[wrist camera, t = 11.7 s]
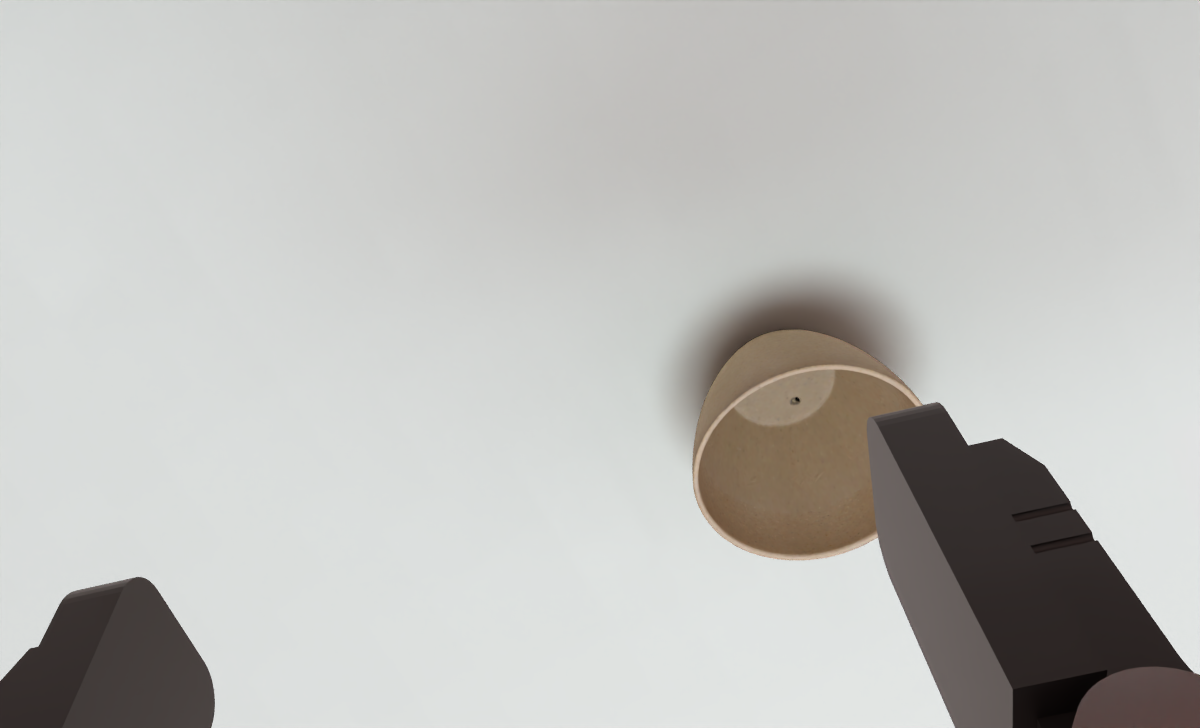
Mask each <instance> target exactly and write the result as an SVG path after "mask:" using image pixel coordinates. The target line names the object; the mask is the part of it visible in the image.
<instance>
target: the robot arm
mask: <svg viewBox="0 0 1200 728" xmlns="http://www.w3.org/2000/svg"><path fill="white" fill-rule="evenodd" d="M867 440H868V450H869V460H870V470H871V481H872V491H873V501H874V511H875V521H876V528H877V534H878V539H879V543H880V548H881V551H882V555H883V559H884V562H885V565H886V568H887V571H888V574H889V577H890V579H891V581H892V584H893V586H894V588H895V591H896V593H897V595H898V598H899V600H900V602H901V604H902V607H903V609H904V611H905V614H906V616H907V618H908V620H909V623H910V625H911V627H912V630H913V632H914V634H915V637H916V639H917V641H918V643H919V646H920V648H921V650H922V653H923V655H924V657H925V659H926V662H927V664H928V666H929V669H930V671H931V673H932V675H933V678H934V680H935V682H936V685H937V687H938V689H939V691H940V694H941V696H942V698H943V701H944V703H945V705H946V707H947V710H948V712H949V714H950V717H951V719H952V721H953V723H954V726H955V728H1200V675H1199V674H1196V673H1194V672H1193V671H1192V670H1191V669H1189V667H1188V666H1187V665H1186V664H1185V662H1184V661H1183V660H1182V659H1181V658H1180V656H1179V655H1178V654H1177V652H1176V651H1175V649H1174V648H1173V647H1172V645H1171V644H1170V642H1169V641H1168V639H1167V638H1166V637H1165V635H1164V634H1163V632H1162V631H1161V630H1160V628H1159V627H1158V625H1157V624H1156V622H1155V621H1154V620H1153V618H1152V617H1151V615H1150V614H1149V613H1148V611H1147V610H1146V608H1145V607H1144V605H1143V604H1142V603H1141V601H1140V600H1139V598H1138V597H1137V596H1136V594H1135V593H1134V591H1133V590H1132V588H1131V587H1130V586H1129V584H1128V583H1127V581H1126V580H1125V579H1124V577H1123V576H1122V574H1121V573H1120V571H1119V570H1118V569H1117V567H1116V566H1115V564H1114V563H1113V562H1112V560H1111V559H1110V557H1109V556H1108V554H1107V553H1106V552H1105V550H1104V549H1103V547H1102V546H1101V545H1100V543H1099V542H1098V540H1097V541H1094V539H1093V536H1092V532H1091V530H1090V529H1089V528H1088V526H1087V525H1086V523H1085V522H1084V520H1083V519H1082V518H1081V516H1080V515H1079V513H1078V512H1077V511H1076V509H1075V510H1073V509H1072V507H1071V503H1070V501H1069V499H1068V498H1067V496H1066V495H1065V494H1064V492H1063V491H1062V489H1061V488H1060V486H1059V485H1058V484H1057V482H1056V481H1055V479H1054V478H1053V477H1052V475H1051V474H1050V472H1049V471H1048V469H1047V468H1046V467H1045V465H1043V464H1042V463H1040V462H1039V461H1037V460H1035V459H1034V458H1032V457H1031V456H1029V455H1028V454H1026V453H1024V452H1023V451H1021V450H1020V449H1018V448H1017V447H1015V446H1013V445H1012V444H1010V443H1009V442H1007V441H1006V440H1004V439H1003V438H1001V439H997V440H992V441H988V442H983V443H978V444H974V445H969V446H968V445H967V443H966V441H965V440H964V438H963V437H962V435H961V433H960V432H959V430H958V429H957V427H956V425H955V424H954V422H953V420H952V419H951V417H950V416H949V414H948V412H947V411H946V409H945V408H944V407H943V406H942V405H941V404H940V403H938V402H936V403H931V404H927V405H922V406H917V407H913V408H908V409H904V410H899V411H895V412H890V413H886V414H881V415H877V416H872V417H869V418H868V420H867ZM214 708H215V699H214V689H213V684H212V679H211V676H210V673H209V671H208V668H207V666H206V664H205V663H204V661H203V659H202V658H201V656H200V655H199V653H198V652H197V650H196V649H195V647H194V646H193V644H192V642H191V641H190V639H189V638H188V636H187V635H186V633H185V632H184V630H183V629H182V627H181V625H180V624H179V622H178V621H177V619H176V618H175V616H174V615H173V613H172V612H171V610H170V609H169V607H168V605H167V604H166V602H165V601H164V599H163V598H162V596H161V595H160V593H159V592H158V590H157V589H156V587H155V586H154V585H153V584H152V583H151V582H150V581H149V580H147V579H145V578H142V577H136V578H131V579H127V580H122V581H118V582H113V583H109V584H104V585H100V586H95V587H91V588H86V589H82V590H77V591H74V592H71V593H69V594H68V595H67V596H66V597H65V598H64V599H63V600H62V602H61V603H60V605H59V607H58V609H57V611H56V613H55V615H54V617H53V619H52V621H51V623H50V625H49V627H48V629H47V631H46V633H45V635H44V637H43V639H42V641H41V643H40V645H39V647H35V648H31V649H29V650H28V651H27V652H26V653H25V655H24V656H23V657H22V658H21V659H20V660H19V661H18V662H17V663H16V665H15V666H14V667H13V668H12V669H11V670H10V671H9V672H8V673H7V674H6V676H5V677H4V678H3V679H2V680H1V681H0V728H211V726H212V722H213V718H214Z"/></svg>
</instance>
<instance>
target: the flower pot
mask: <svg viewBox="0 0 1200 728" xmlns="http://www.w3.org/2000/svg"><path fill="white" fill-rule="evenodd" d="M796 397H798V398H799V400H796V399H795V398H796ZM917 406H922V403H921V402H920V401H919V399H918V398H917V397H916V396H915V394H914V393H913V392H912V391H911V390H910V389H909V388H908V387H907V386H906V384H905V383H904V382H903V381H902V380H901V379H899V378H898V377H897V376H896V375H895V374H894V373H893V372H892V371H891V370H889V369H888V368H887V367H886V366H885V365H883V364H882V363H881V362H879V361H878V360H877V359H875V358H874V357H872V356H871V355H869V354H868V353H866V352H864V351H862V350H861V349H859V348H857V347H855V346H853V345H851V344H849V343H847V342H845V341H843V340H840V339H837V338H835V337H832V336H828V335H825V334H822V333H818V332H813V331H808V330H778V331H773V332H769V333H766V334H763V335H760V336H758V337H756V338H754V339H752V340H751V341H749V342H748V343H746V344H745V345H744V346H742V347H741V348H740V349H739V350H738V351H737V352H736V353H735V354H734V355H733V356H732V357H731V358H730V359H729V360H728V361H727V362H726V364H725V365H724V366H723V368H722V369H721V370H720V372H719V373H718V375H717V377H716V378H715V380H714V382H713V384H712V386H711V388H710V390H709V392H708V394H707V396H706V399H705V401H704V404H703V407H702V410H701V413H700V416H699V420H698V424H697V429H696V434H695V441H694V449H693V487H694V493H695V497H696V500H697V503H698V505H699V508H700V510H701V512H702V514H703V515H704V517H705V518H706V520H707V521H708V523H709V524H710V525H711V526H712V527H713V529H714V530H715V531H716V532H717V533H719V534H720V535H721V536H722V537H723V538H725V539H726V540H727V541H729V542H731V543H732V544H734V545H735V546H737V547H739V548H741V549H743V550H746V551H748V552H750V553H754V554H757V555H760V556H764V557H769V558H774V559H782V560H811V559H820V558H826V557H831V556H835V555H839V554H842V553H845V552H848V551H851V550H853V549H856V548H858V547H861V546H863V545H865V544H867V543H869V542H870V541H872V540H874V539H876V538H878V534H877V528H876V521H875V511H874V501H873V491H872V481H871V470H870V460H869V450H868V440H867V420H868V418H869V417H872V416H877V415H881V414H886V413H890V412H895V411H899V410H904V409H908V408H913V407H917Z"/></svg>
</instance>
